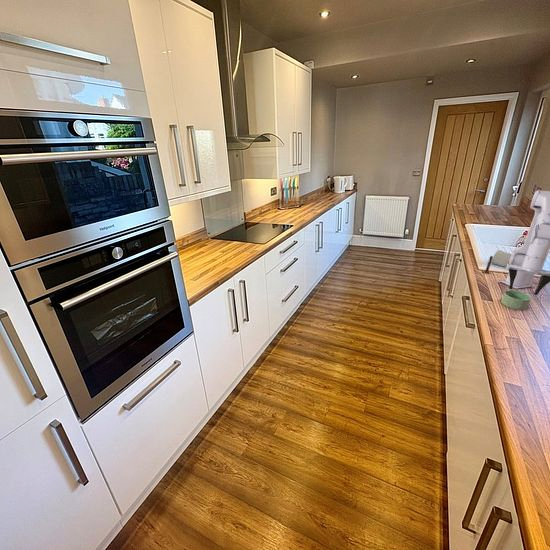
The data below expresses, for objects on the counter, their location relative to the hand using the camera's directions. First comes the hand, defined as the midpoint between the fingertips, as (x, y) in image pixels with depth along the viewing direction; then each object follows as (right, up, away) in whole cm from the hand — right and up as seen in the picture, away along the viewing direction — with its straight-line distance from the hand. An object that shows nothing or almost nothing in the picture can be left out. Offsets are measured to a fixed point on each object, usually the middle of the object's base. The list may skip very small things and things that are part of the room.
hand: (522, 291), depth 111 cm
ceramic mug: (+29, +12, +48) cm, 57 cm away
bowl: (+6, -6, +11) cm, 14 cm away
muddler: (+15, +8, +39) cm, 42 cm away
